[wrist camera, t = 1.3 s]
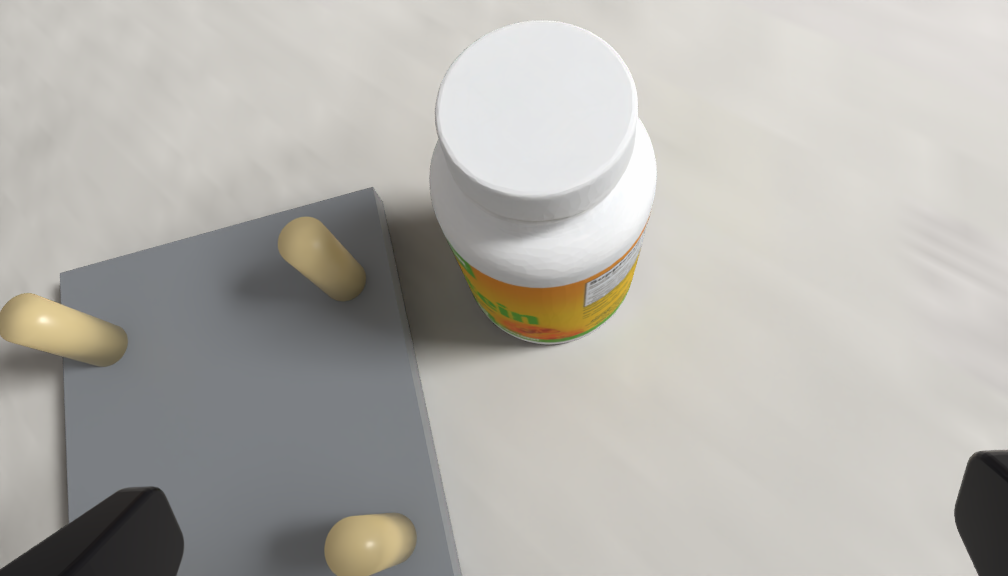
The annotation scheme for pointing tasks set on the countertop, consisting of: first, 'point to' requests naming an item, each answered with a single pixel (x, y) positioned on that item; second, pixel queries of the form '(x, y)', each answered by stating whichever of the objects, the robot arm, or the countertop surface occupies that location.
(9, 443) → the countertop surface
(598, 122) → the supplement bottle
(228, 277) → the plate
